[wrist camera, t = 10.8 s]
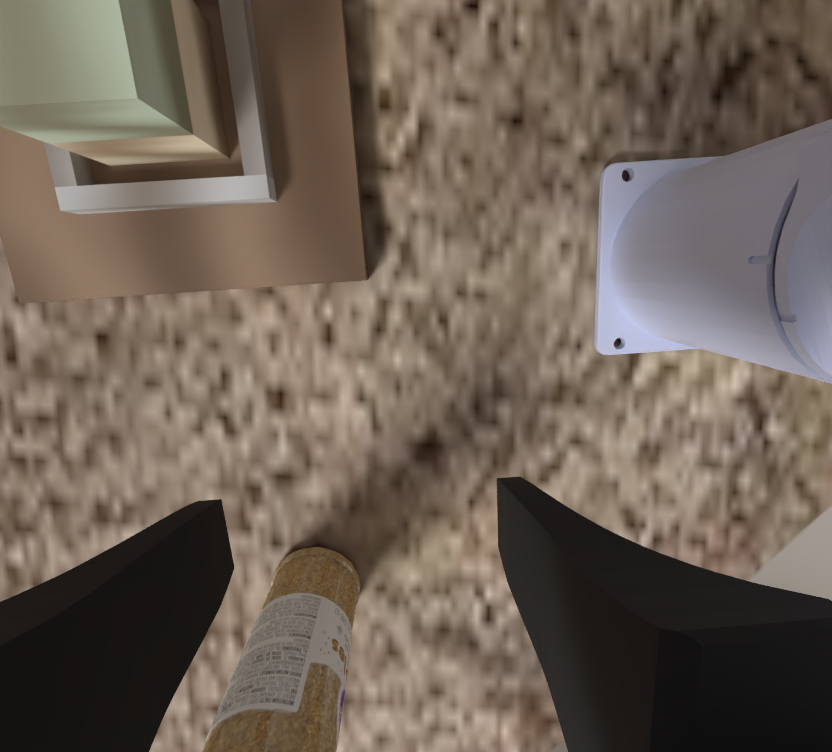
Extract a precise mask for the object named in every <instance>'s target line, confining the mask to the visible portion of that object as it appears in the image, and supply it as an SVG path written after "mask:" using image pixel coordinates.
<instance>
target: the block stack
mask: <svg viewBox="0 0 832 752" xmlns="http://www.w3.org/2000/svg"><path fill="white" fill-rule="evenodd" d="M0 126H1V127H4V128H7V129H9V130H12V131H15V132H18V133H20V134H23V135H26V136H29V137H32V138H34V139H37V140H40V141H43V142H46V143H48V144H51V145H54V146H57V147H59V148H62V149H65V150H68V151H71V152H73V153H76V154H79V155H82V156H85V157H87V158H90V159H93V160H96V161H98V162H101V163H104V164H107V165H110V166H114V165H131V164H148V163H165V162H181V161H198V160H215V159H230V157H229V151H228V144H227V138H226V131H225V125H224V118H223V111H222V105H221V98H220V92H219V85H218V79H217V72H216V66H215V59H214V53H213V46H212V39H211V33H210V26H209V21H208V20H207V18H206V17H205V16H204V14H203V13H202V12H201V10H200V9H199V8H198V6H197V5H196V4H195V3H194V1H193V0H0Z"/></svg>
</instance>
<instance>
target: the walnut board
mask: <svg viewBox="0 0 832 752" xmlns="http://www.w3.org/2000/svg"><path fill="white" fill-rule="evenodd" d="M193 1H194V3H195V4H196V5H197V6H198V8H199V9H200V10H201V12H202V13H203V14H204V16H205V17H206V18H207V20H208V21H209V26H210V33H211V39H212V46H213V53H214V59H215V66H216V72H217V79H218V85H219V92H220V98H221V105H222V111H223V118H224V125H225V131H226V138H227V144H228V151H229V157H230V159H215V160H198V161H181V162H165V163H148V164H131V165H114V166H110V165H107V164H104V163H101V162H98V161H96V160H93V159H90V158H87V157H85V156H82V155H79V154H76V153H73V152H71V151H68V150H65V149H62V148H59V147H57V146H54V145H51V144H48V143H46V142H43V141H40V140H37V139H34V138H32V137H29V136H26V135H23V134H20V133H18V132H15V131H12V130H9V129H7V128H4V127H1V126H0V236H1V239H2V243H3V247H4V250H5V254H6V257H7V261H8V264H9V268H10V272H11V275H12V279H13V282H14V286H15V289H16V293H17V297H18V300H19V303H29V302H44V301H59V300H74V299H89V298H104V297H120V296H135V295H150V294H165V293H180V292H195V291H211V290H226V289H241V288H256V287H271V286H286V285H302V284H317V283H332V282H347V281H362V280H368V271H367V259H366V248H365V237H364V225H363V214H362V203H361V191H360V180H359V169H358V157H357V146H356V134H355V123H354V112H353V100H352V89H351V78H350V66H349V55H348V43H347V32H346V21H345V9H344V0H193Z"/></svg>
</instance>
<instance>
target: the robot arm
mask: <svg viewBox="0 0 832 752" xmlns="http://www.w3.org/2000/svg"><path fill="white" fill-rule="evenodd" d="M624 170H626V171H627V172H628V173H629V176H630V177H629V180H628V181H627V182H626V181H624V180H623V179H622V172H623V171H624ZM617 338H620V339H621V344H620V345H619V346H618V347H616V348H615V347H614V341H615V340H616V339H617ZM594 346H595V349H596V350H597V351H598V352H599V353H601V354H604V355H615V354H629V353H643V352H658V351H672V350H686V349H703V350H707V351H710V352H714V353H718V354H722V355H726V356H729V357H733V358H737V359H741V360H745V361H748V362H752V363H756V364H760V365H764V366H767V367H771V368H775V369H779V370H783V371H786V372H790V373H794V374H798V375H802V376H805V377H809V378H813V379H817V380H821V381H824V382H828V383H832V119H830V120H827V121H824V122H821V123H818V124H815V125H812V126H810V127H807V128H804V129H801V130H798V131H795V132H792V133H789V134H787V135H784V136H781V137H778V138H775V139H772V140H769V141H767V142H764V143H761V144H758V145H755V146H752V147H749V148H747V149H744V150H741V151H738V152H735V153H732V154H729V155H726V156H717V157H700V158H684V159H667V160H651V161H635V162H618V163H613V164H610V165H608V166H607V167H605V168H604V169H603V171H602V173H601V176H600V194H599V222H598V251H597V279H596V307H595V335H594ZM497 506H498V547H499V551H500V555H501V559H502V563H503V567H504V571H505V574H506V578H507V582H508V584H509V587H510V589H511V592H512V594H513V597H514V599H515V602H516V604H517V607H518V609H519V612H520V614H521V617H522V619H523V622H524V624H525V627H526V629H527V631H528V634H529V636H530V639H531V641H532V644H533V646H534V649H535V651H536V654H537V656H538V658H539V661H540V663H541V666H542V669H543V672H544V674H545V677H546V680H547V683H548V686H549V689H550V692H551V695H552V699H553V702H554V705H555V709H556V712H557V715H558V719H559V722H560V725H561V729H562V732H563V735H564V739H565V742H566V746H567V749H568V752H832V601H831V600H829V599H825V598H821V597H816V596H811V595H806V594H802V593H797V592H793V591H788V590H783V589H779V588H774V587H770V586H765V585H760V584H756V583H752V582H749V581H745V580H741V579H738V578H734V577H731V576H727V575H724V574H720V573H716V572H713V571H710V570H707V569H704V568H700V567H697V566H694V565H691V564H688V563H685V562H683V561H680V560H677V559H674V558H672V557H669V556H666V555H663V554H661V553H658V552H656V551H653V550H651V549H648V548H646V547H643V546H641V545H639V544H637V543H634V542H632V541H630V540H628V539H625V538H623V537H621V536H619V535H617V534H615V533H613V532H611V531H609V530H607V529H605V528H603V527H601V526H599V525H597V524H596V523H594V522H592V521H590V520H588V519H587V518H585V517H583V516H581V515H580V514H578V513H576V512H575V511H573V510H571V509H570V508H568V507H566V506H565V505H563V504H562V503H560V502H559V501H557V500H556V499H554V498H552V497H551V496H549V495H548V494H546V493H545V492H543V491H542V490H540V489H539V488H537V487H536V486H534V485H533V484H531V483H530V482H528V481H527V480H525V479H523V478H521V477H510V478H497ZM233 570H234V564H233V558H232V553H231V548H230V543H229V537H228V532H227V527H226V521H225V516H224V511H223V506H222V500H221V499H220V500H207V501H197V502H195V503H192V504H190V505H188V506H186V507H184V508H182V509H180V510H178V511H176V512H174V513H172V514H171V515H169V516H167V517H165V518H164V519H162V520H160V521H158V522H156V523H155V524H153V525H151V526H149V527H148V528H146V529H144V530H143V531H141V532H139V533H137V534H136V535H134V536H132V537H130V538H129V539H127V540H125V541H123V542H121V543H120V544H118V545H116V546H114V547H112V548H110V549H108V550H107V551H105V552H103V553H101V554H99V555H97V556H95V557H94V558H92V559H90V560H88V561H86V562H84V563H82V564H81V565H79V566H77V567H75V568H73V569H71V570H69V571H67V572H65V573H63V574H61V575H59V576H57V577H55V578H53V579H51V580H48V581H46V582H44V583H42V584H40V585H38V586H35V587H33V588H31V589H29V590H27V591H24V592H22V593H20V594H18V595H15V596H13V597H11V598H9V599H6V600H4V601H1V602H0V752H149V750H150V748H151V745H152V743H153V740H154V738H155V736H156V733H157V731H158V728H159V726H160V724H161V721H162V719H163V717H164V715H165V712H166V710H167V708H168V706H169V704H170V702H171V700H172V698H173V696H174V694H175V692H176V690H177V688H178V686H179V684H180V683H181V681H182V679H183V677H184V675H185V673H186V671H187V669H188V667H189V665H190V664H191V662H192V660H193V658H194V656H195V654H196V652H197V650H198V648H199V647H200V645H201V643H202V641H203V639H204V637H205V635H206V633H207V631H208V629H209V627H210V625H211V624H212V622H213V620H214V618H215V616H216V614H217V612H218V610H219V608H220V606H221V603H222V601H223V598H224V596H225V593H226V590H227V588H228V585H229V582H230V579H231V576H232V573H233Z"/></svg>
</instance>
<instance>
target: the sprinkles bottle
mask: <svg viewBox="0 0 832 752" xmlns="http://www.w3.org/2000/svg"><path fill="white" fill-rule="evenodd" d="M359 594H360V580H359V576H358V573H357V572H356V570H355V568H354V567H353V565H352V563H351V562H350V561H349V560H348V559H346V558H345V557H344V556H343V555H342V554H340V553H338V552H336V551H333V550H330V549H327V548H322V547H312V548H304V549H300V550H298V551H295V552H293V553H291V554H290V555H288V556H286V557H285V558H284V559H283V560H282V561H281V562H280V564H279V565H278V567H277V568H276V570H275V572H274V574H273V578H272V584H271V589H270V591H269V593H268V596H267V598H266V601H265V603H264V606H263V609H262V610H261V612H260V613H259V615H258V617H257V619H256V621H255V623H254V626H253V628H252V630H251V633H250V635H249V637H248V640H247V642H246V644H245V647H244V649H243V651H242V654H241V656H240V659H239V661H238V663H237V666H236V668H235V671H234V673H233V675H232V678H231V680H230V683H229V685H228V687H227V690H226V692H225V695H224V697H223V700H222V702H221V704H220V707H219V709H218V712H217V714H216V717H215V719H214V721H213V724H212V726H211V729H210V731H209V733H208V736H207V739H206V741H205V745H204V750H203V752H336V750H337V745H338V738H339V731H340V723H341V716H342V708H343V700H344V694H345V687H346V679H347V672H348V666H349V659H350V652H351V644H352V627H353V621H354V613H355V606H356V604H357V602H358V598H359Z"/></svg>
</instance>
